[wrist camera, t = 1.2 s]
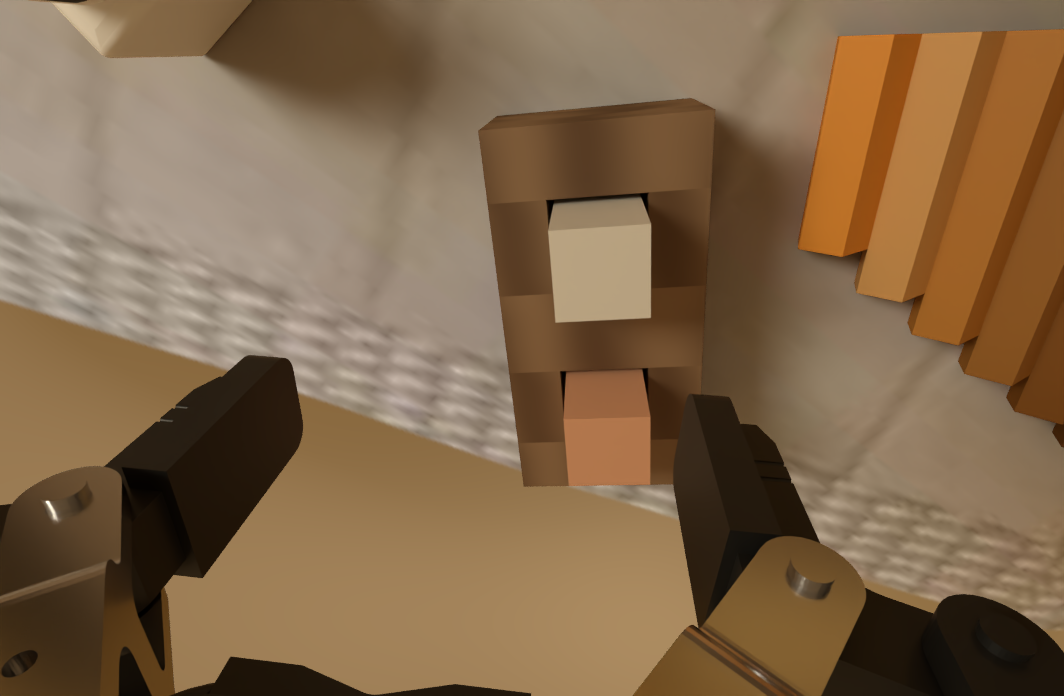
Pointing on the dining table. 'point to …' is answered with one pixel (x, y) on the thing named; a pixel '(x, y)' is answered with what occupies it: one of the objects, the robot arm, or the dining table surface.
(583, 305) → the beige rectangular block
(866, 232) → the pan flute
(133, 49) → the medicine bottle
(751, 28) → the dining table surface
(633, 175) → the board
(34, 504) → the robot arm
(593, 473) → the orange-brown rectangular block
